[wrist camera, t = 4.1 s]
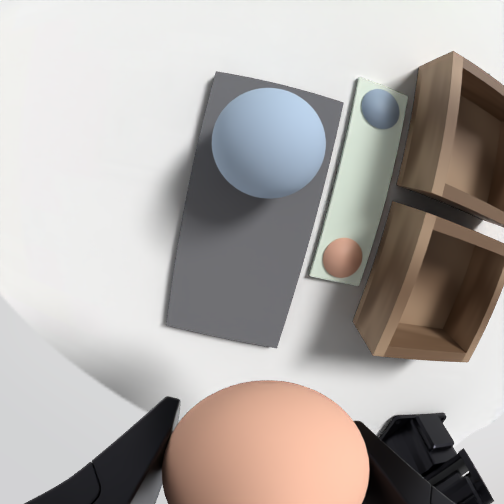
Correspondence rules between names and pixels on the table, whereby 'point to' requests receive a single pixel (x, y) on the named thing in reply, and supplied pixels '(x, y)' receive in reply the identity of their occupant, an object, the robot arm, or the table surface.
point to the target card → (360, 183)
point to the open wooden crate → (457, 138)
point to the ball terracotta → (266, 449)
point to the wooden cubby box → (429, 288)
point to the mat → (243, 235)
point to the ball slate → (268, 143)
